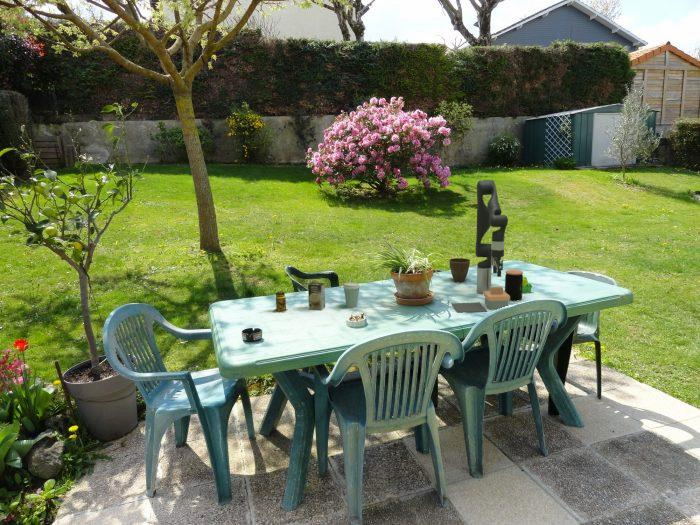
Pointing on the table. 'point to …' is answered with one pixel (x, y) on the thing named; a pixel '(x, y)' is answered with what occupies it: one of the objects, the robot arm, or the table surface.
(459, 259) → the plant pot
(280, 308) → the condiment
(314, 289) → the coffee box
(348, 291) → the disposable coffee cup
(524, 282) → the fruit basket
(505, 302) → the storage box
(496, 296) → the lid
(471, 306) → the rubber mat
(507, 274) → the coffee jar
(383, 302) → the table surface
